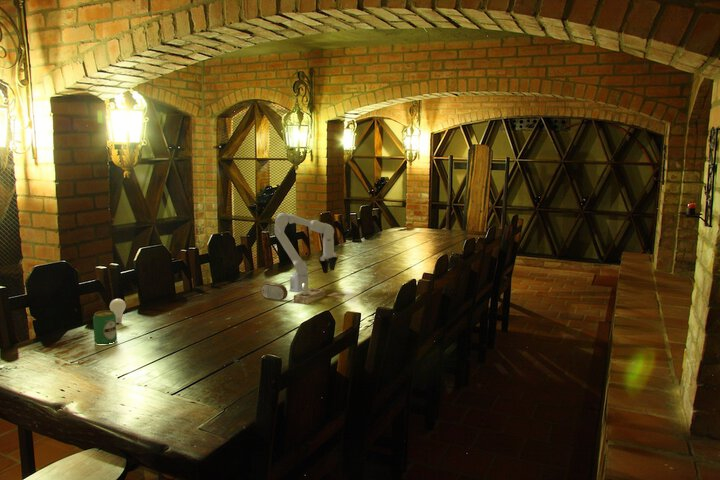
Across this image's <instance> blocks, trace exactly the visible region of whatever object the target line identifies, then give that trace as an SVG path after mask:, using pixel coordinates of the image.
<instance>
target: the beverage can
mask: <svg viewBox="0 0 720 480" xmlns="http://www.w3.org/2000/svg"><path fill="white" fill-rule="evenodd" d="M92 321H93V322H92V323H93V340H94V343H95V344H96V343H97V344H109V343H113V342H115V341H116V342H117V340H118V334H117V333H118V331H117V323H116V315H115V314H114V312H113V311H111V310H109V309H108V310H107V309H106V310H99V311H96V312H95V313H94V315H93V317H92ZM116 342H115V343H116Z"/></svg>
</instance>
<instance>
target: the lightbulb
mask: <svg viewBox="0 0 720 480" xmlns="http://www.w3.org/2000/svg"><path fill="white" fill-rule="evenodd" d="M126 306H127V305H126V302H125V300H123V299H121V298H115V299H112V300H111V301H110V303H109V311H113V312H114V314H115V315H116V324H117V323H120V324H121V323H122V322H123V319H122V317H123V313H124V312H125V310H126V308H127V307H126Z"/></svg>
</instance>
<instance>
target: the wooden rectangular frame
mask: <svg viewBox="0 0 720 480" xmlns="http://www.w3.org/2000/svg"><path fill="white" fill-rule="evenodd" d="M325 296H326V289H323V288H316V287H315V288H314V287H310V288H309V289H308V296H302V292H298V293H296V294H294V295H293V303H294V304H295V303H297V304H301V305H309V304H311V303H312V302H315V301H317V300H319V299H321V298H323V297H325Z"/></svg>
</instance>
